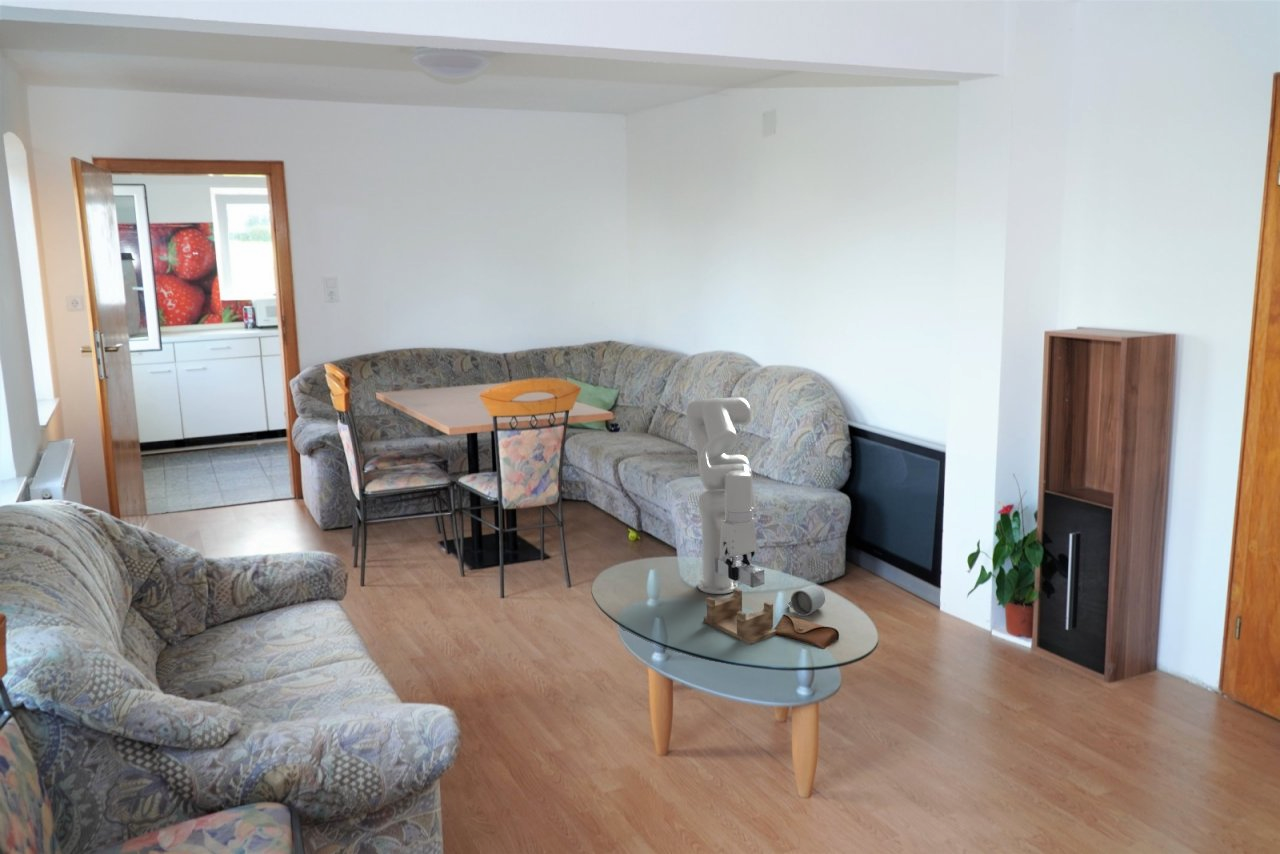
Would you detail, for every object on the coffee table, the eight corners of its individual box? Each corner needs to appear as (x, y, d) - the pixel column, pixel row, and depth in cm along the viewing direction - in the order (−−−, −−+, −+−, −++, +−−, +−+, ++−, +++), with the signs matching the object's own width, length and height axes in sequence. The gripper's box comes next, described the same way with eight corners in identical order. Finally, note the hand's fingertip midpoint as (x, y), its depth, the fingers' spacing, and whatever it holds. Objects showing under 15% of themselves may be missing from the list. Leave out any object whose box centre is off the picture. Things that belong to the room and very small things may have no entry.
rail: (726, 568, 295) (726, 554, 294) (764, 584, 282) (764, 569, 281) (715, 571, 292) (714, 558, 292) (753, 587, 280) (752, 573, 279)
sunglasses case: (767, 633, 286) (773, 610, 288) (778, 637, 292) (784, 615, 293) (825, 649, 276) (831, 625, 277) (835, 653, 281) (841, 630, 282)
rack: (731, 611, 302) (731, 585, 300) (778, 633, 286) (778, 606, 284) (701, 621, 296) (701, 595, 294) (748, 645, 280) (748, 617, 278)
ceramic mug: (827, 609, 301) (826, 585, 300) (812, 618, 295) (812, 593, 294) (796, 601, 308) (795, 577, 307) (781, 610, 302) (781, 586, 300)
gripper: (751, 506, 291) (752, 566, 295) (706, 518, 281) (707, 580, 286) (770, 512, 285) (770, 573, 289) (724, 524, 275) (725, 588, 280)
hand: (739, 576), depth 287 cm, fingers closed on rail, 4 cm apart
